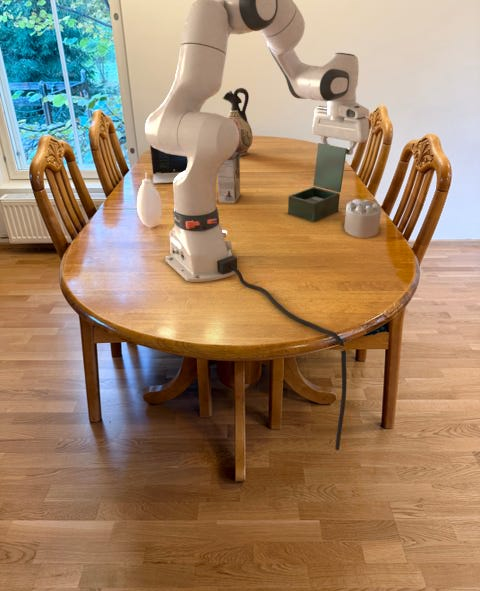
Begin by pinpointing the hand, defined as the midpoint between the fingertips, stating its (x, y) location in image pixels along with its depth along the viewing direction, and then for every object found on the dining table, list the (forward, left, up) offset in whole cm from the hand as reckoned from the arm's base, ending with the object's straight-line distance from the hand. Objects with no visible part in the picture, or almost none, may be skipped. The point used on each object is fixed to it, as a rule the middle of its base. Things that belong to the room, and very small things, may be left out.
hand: (337, 151), depth 165 cm
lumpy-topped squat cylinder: (-24, +3, -19) cm, 30 cm away
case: (-5, +10, -18) cm, 22 cm away
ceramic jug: (+79, +7, -19) cm, 82 cm away
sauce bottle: (+3, +64, -19) cm, 67 cm away
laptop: (+51, +45, -19) cm, 71 cm away
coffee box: (+19, +32, -19) cm, 42 cm away
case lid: (-2, +4, -4) cm, 6 cm away
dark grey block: (-5, +11, -18) cm, 21 cm away
